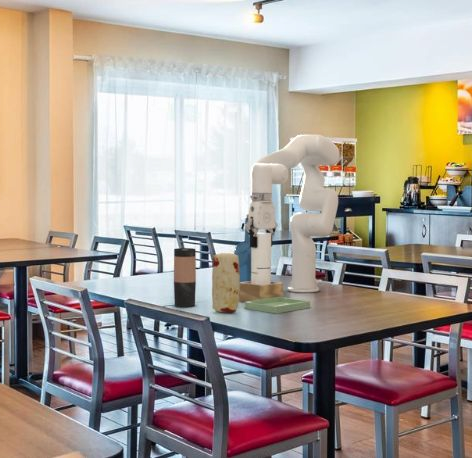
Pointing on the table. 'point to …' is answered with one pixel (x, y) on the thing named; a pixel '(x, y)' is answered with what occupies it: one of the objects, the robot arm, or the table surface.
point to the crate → (259, 291)
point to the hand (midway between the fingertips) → (261, 246)
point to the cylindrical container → (261, 260)
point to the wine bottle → (244, 256)
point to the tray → (277, 305)
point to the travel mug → (184, 277)
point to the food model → (225, 282)
